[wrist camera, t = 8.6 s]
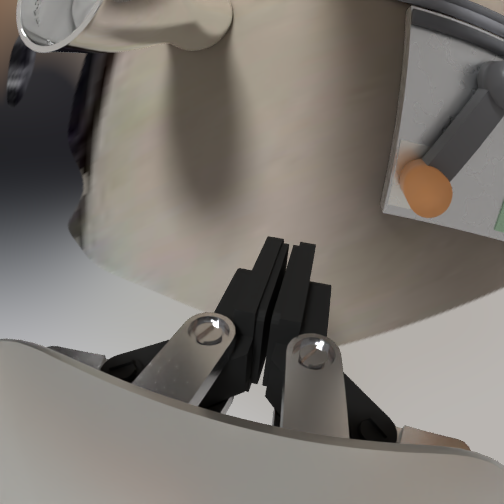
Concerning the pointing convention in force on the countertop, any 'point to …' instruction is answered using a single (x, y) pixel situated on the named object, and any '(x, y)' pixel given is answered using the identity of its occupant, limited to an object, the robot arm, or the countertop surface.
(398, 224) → the countertop surface
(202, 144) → the countertop surface
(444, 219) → the panel
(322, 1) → the countertop surface
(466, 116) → the breaker lever
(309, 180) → the countertop surface
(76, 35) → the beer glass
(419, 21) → the cord bundle
